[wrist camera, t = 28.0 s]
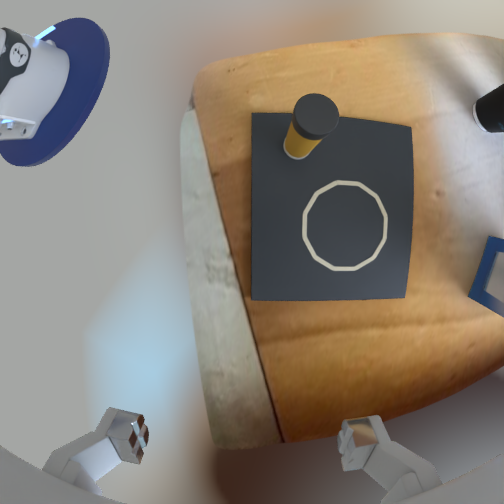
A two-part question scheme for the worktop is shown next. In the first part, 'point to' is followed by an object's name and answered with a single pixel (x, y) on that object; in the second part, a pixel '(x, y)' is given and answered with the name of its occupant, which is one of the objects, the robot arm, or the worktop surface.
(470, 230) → the worktop surface
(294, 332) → the worktop surface
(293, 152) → the marker
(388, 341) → the worktop surface
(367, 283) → the board
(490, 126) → the dixie cup
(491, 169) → the worktop surface
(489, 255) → the milk carton
